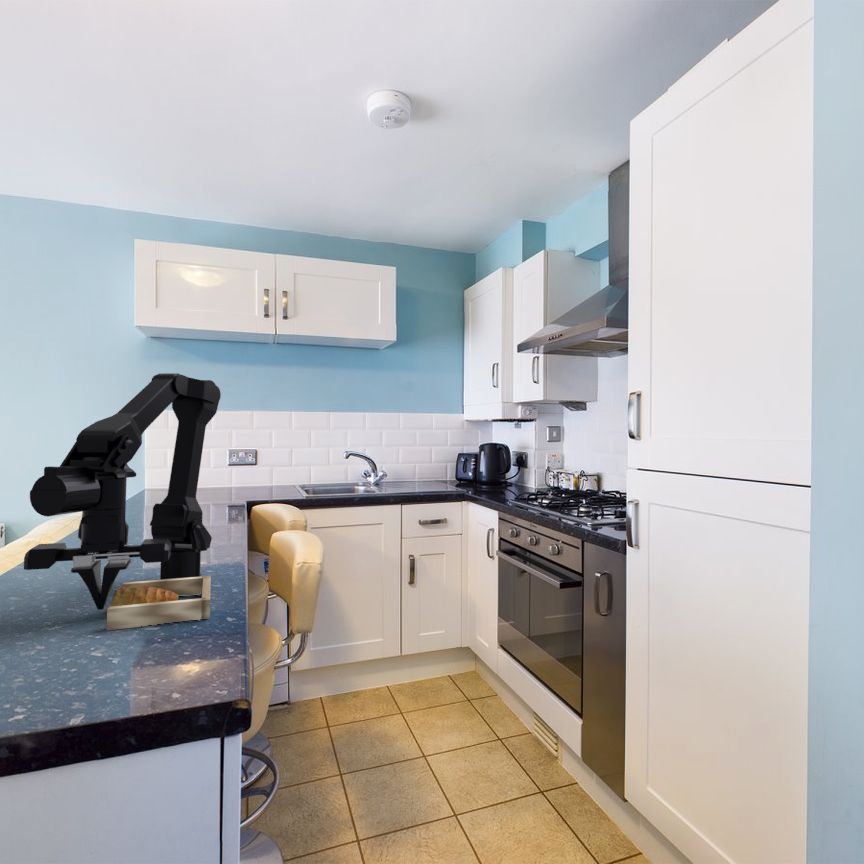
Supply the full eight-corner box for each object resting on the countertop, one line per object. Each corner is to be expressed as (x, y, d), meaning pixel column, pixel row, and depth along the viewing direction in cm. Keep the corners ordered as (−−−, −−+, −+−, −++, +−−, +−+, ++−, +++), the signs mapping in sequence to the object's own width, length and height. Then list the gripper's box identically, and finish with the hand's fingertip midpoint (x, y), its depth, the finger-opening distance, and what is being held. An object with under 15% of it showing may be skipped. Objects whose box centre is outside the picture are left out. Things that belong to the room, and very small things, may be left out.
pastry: (181, 601, 89) (181, 578, 89) (173, 614, 82) (174, 590, 82) (118, 605, 86) (119, 582, 86) (106, 619, 80) (106, 594, 80)
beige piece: (210, 592, 94) (210, 575, 94) (209, 619, 80) (210, 599, 80) (123, 600, 89) (123, 582, 89) (106, 630, 75) (107, 609, 75)
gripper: (174, 500, 92) (172, 589, 92) (47, 503, 85) (44, 599, 85) (169, 508, 82) (166, 608, 82) (24, 512, 75) (20, 622, 75)
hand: (100, 608), depth 81 cm, fingers closed
